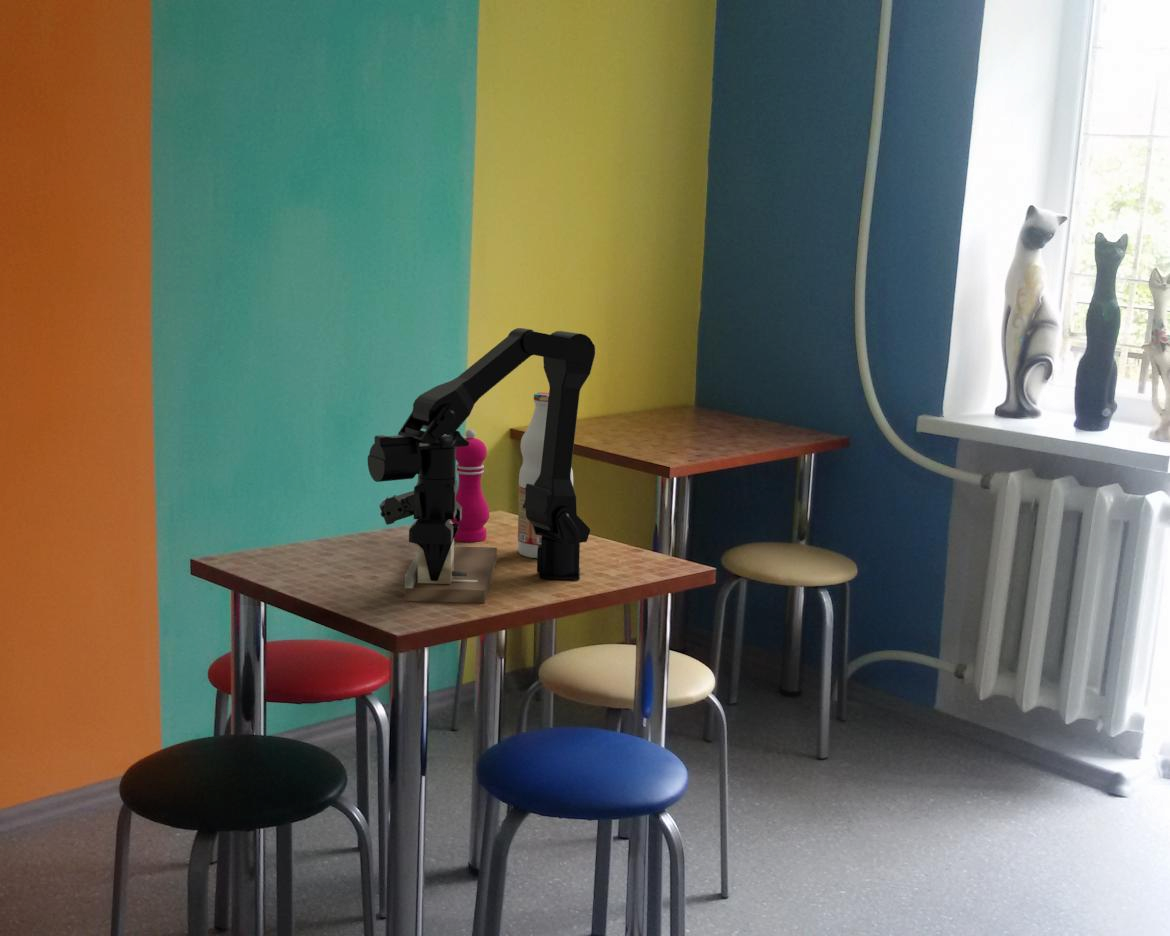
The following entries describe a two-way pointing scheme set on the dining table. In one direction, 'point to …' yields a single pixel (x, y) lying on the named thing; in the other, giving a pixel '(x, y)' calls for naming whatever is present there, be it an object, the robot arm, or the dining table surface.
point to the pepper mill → (471, 490)
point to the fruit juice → (531, 473)
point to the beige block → (446, 571)
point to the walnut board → (456, 578)
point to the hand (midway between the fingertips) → (436, 576)
